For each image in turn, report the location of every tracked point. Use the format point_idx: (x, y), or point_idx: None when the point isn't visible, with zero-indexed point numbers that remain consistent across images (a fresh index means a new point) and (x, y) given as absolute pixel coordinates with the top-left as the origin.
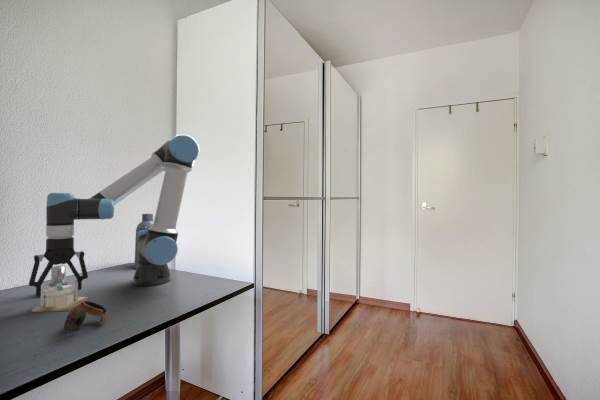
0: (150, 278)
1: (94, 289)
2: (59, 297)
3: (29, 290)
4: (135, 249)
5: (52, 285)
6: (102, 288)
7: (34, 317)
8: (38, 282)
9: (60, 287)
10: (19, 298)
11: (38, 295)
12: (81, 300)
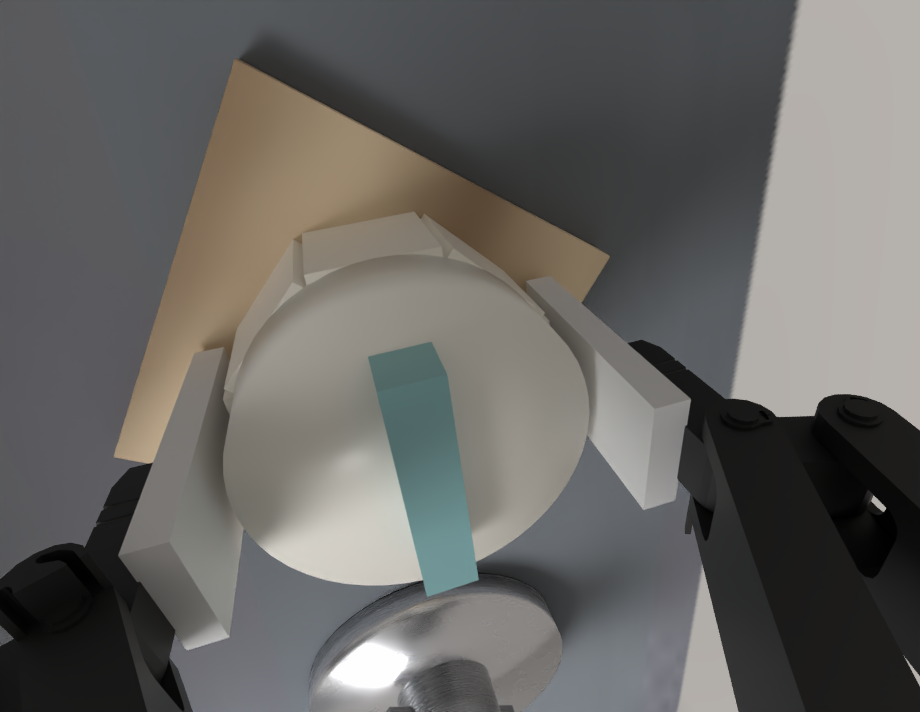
0: None
1: None
2: (387, 255)
3: (589, 697)
4: None
5: (493, 702)
6: None
7: (585, 4)
8: (786, 451)
9: (407, 380)
10: (641, 588)
11: (633, 347)
12: (147, 346)
